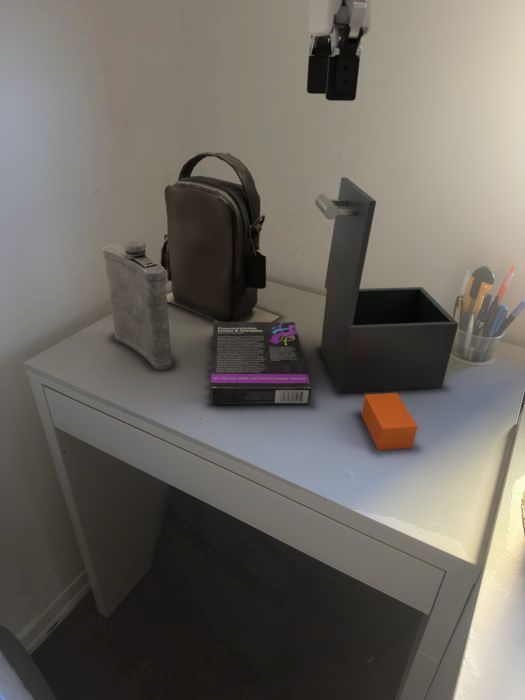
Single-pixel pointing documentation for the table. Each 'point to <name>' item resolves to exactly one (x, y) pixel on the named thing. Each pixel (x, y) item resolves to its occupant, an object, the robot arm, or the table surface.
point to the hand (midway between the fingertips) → (329, 96)
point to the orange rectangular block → (388, 421)
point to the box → (258, 364)
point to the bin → (388, 341)
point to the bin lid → (347, 244)
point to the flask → (138, 301)
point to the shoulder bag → (215, 244)
